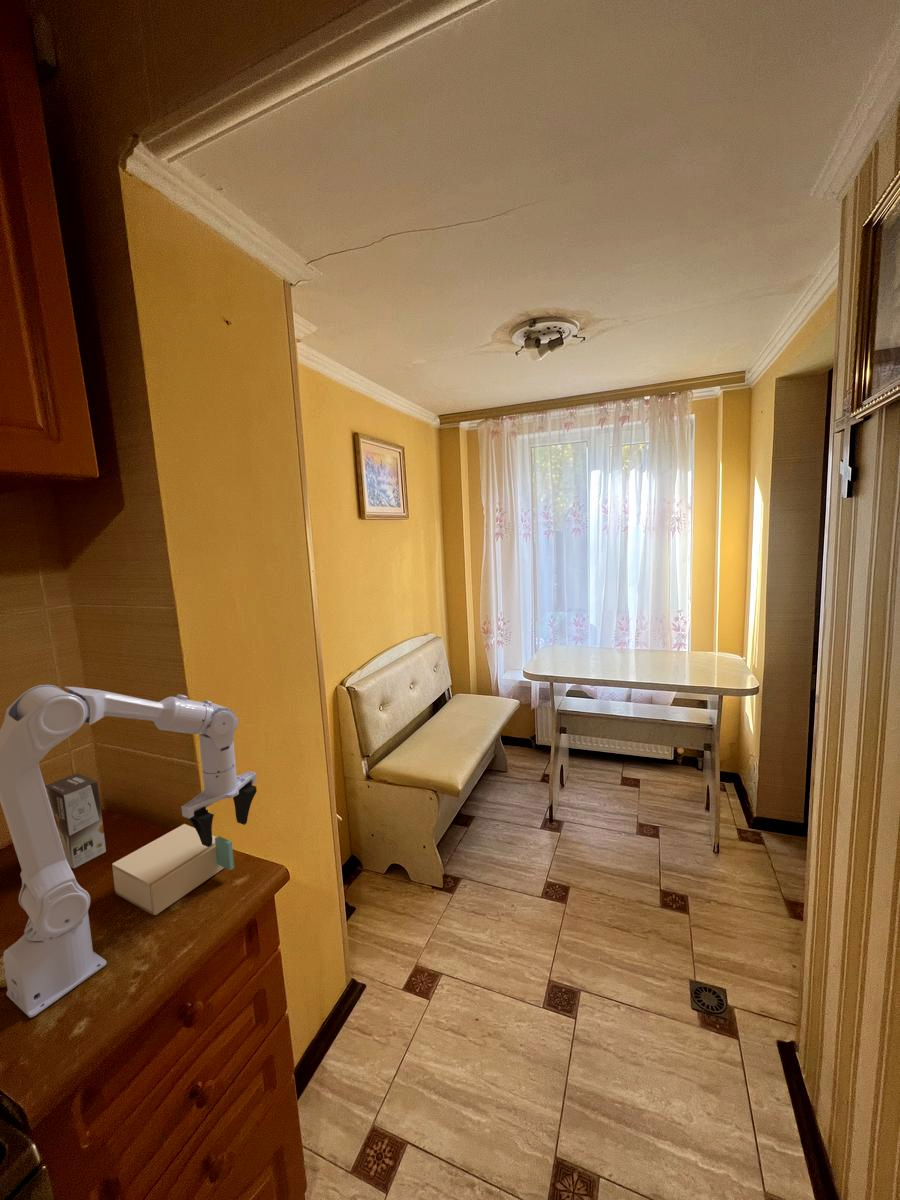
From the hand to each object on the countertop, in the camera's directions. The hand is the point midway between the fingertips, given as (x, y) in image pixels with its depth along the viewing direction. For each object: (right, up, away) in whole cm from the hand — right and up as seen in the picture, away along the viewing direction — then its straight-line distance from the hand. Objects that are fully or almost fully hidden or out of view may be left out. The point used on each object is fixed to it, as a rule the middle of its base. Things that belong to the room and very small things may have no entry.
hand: (225, 833), depth 90 cm
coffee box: (-36, -9, +9) cm, 38 cm away
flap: (-3, -9, -3) cm, 10 cm away
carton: (-11, -9, +1) cm, 14 cm away
